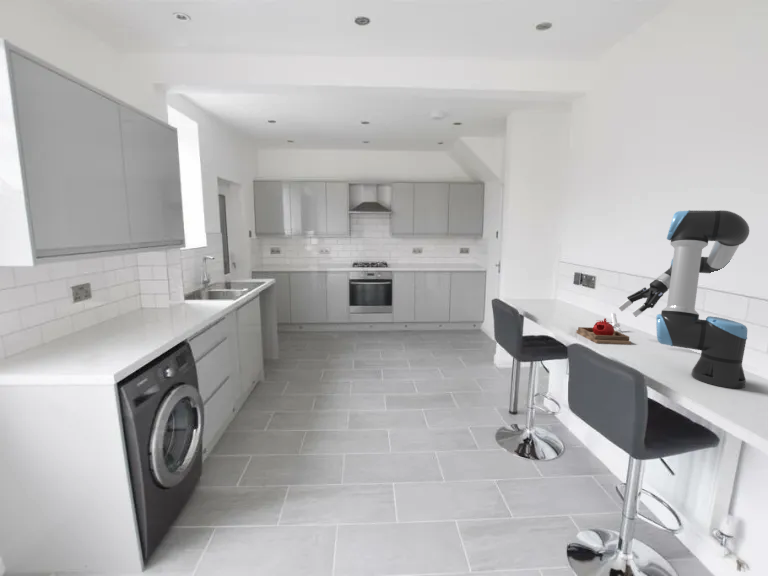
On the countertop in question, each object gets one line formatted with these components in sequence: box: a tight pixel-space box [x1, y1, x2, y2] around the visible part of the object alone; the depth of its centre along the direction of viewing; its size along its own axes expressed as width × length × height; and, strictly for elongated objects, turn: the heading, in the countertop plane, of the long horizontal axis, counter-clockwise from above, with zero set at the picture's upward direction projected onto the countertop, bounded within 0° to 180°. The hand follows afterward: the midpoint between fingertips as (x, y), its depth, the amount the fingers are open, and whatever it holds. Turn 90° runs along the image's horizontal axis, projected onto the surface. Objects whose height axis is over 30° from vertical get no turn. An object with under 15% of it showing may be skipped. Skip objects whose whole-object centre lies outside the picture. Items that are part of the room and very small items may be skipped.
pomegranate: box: [592, 318, 614, 336], centre depth 196 cm, size 10×10×9 cm
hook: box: [610, 312, 622, 333], centre depth 216 cm, size 8×12×7 cm
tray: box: [575, 326, 632, 345], centre depth 197 cm, size 20×17×4 cm
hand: (626, 312), depth 194 cm, fingers open, 13 cm apart
